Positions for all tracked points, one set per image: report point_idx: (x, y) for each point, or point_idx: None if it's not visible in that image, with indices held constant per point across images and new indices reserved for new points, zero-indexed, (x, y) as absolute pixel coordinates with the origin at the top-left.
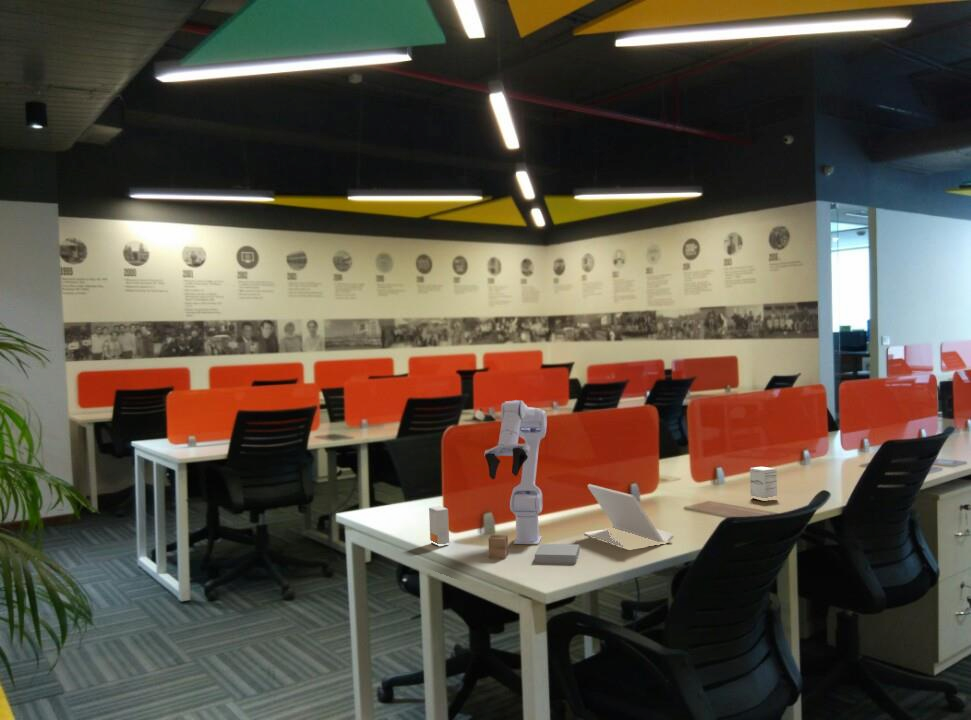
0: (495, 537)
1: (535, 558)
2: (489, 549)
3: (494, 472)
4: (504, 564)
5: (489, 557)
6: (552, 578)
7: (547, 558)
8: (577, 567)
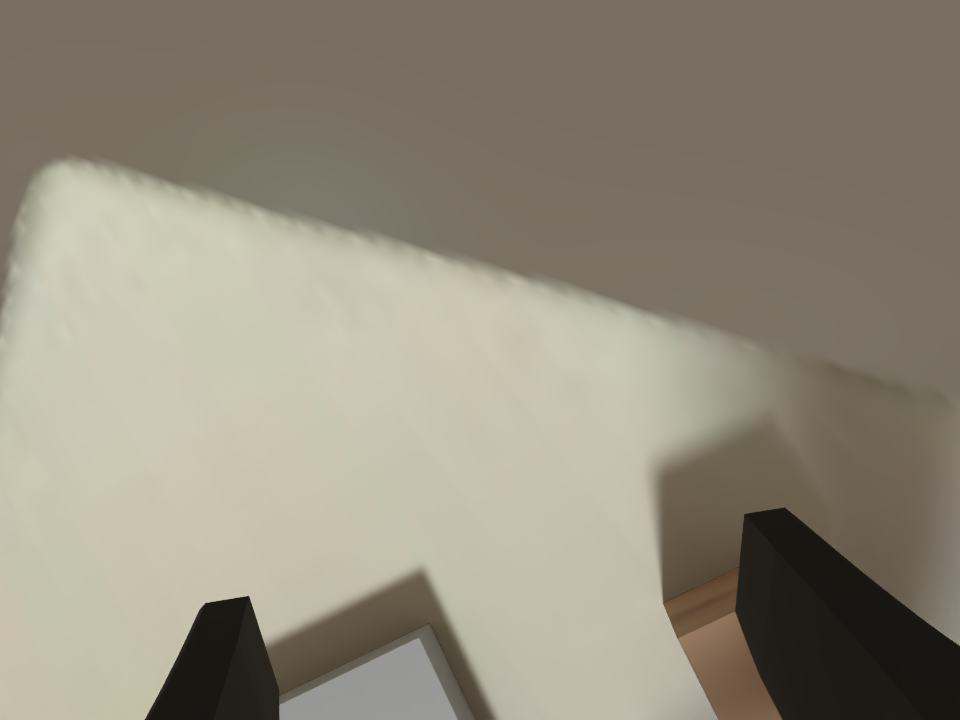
0: None
1: (420, 633)
2: None
3: (798, 693)
4: (581, 485)
5: None
6: (157, 397)
7: (346, 668)
8: (146, 673)
